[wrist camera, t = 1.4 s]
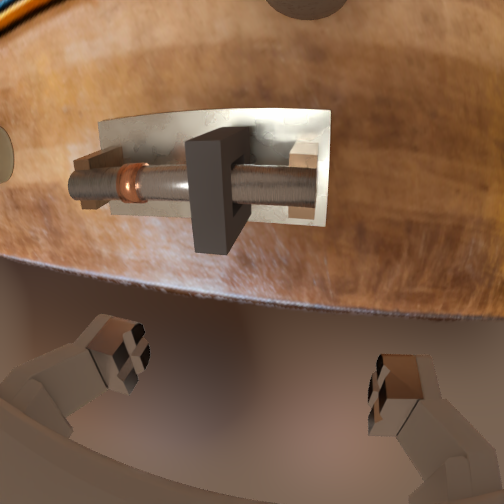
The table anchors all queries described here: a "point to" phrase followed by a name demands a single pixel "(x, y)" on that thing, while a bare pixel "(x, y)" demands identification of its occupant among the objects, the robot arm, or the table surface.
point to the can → (5, 156)
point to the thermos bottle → (306, 8)
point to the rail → (197, 122)
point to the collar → (216, 187)
